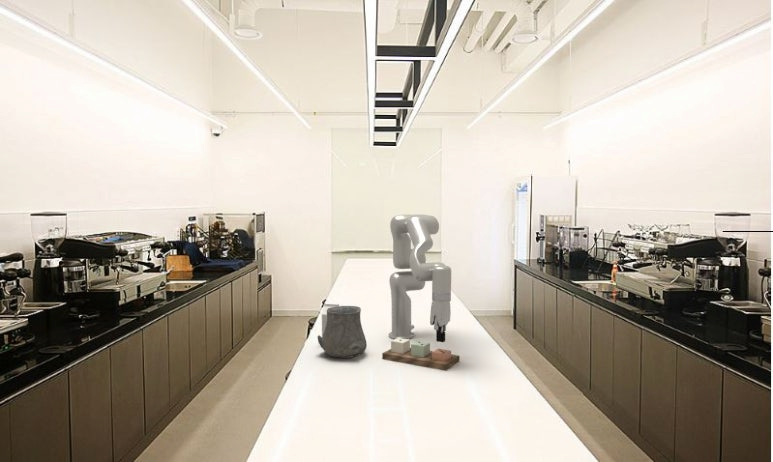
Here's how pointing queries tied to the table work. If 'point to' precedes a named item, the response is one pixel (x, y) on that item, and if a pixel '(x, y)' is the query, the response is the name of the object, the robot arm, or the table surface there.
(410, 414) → the table surface
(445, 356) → the tile three pip
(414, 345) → the tile two pip
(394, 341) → the tile one pip
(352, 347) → the vessel
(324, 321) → the milk carton
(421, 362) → the tray
